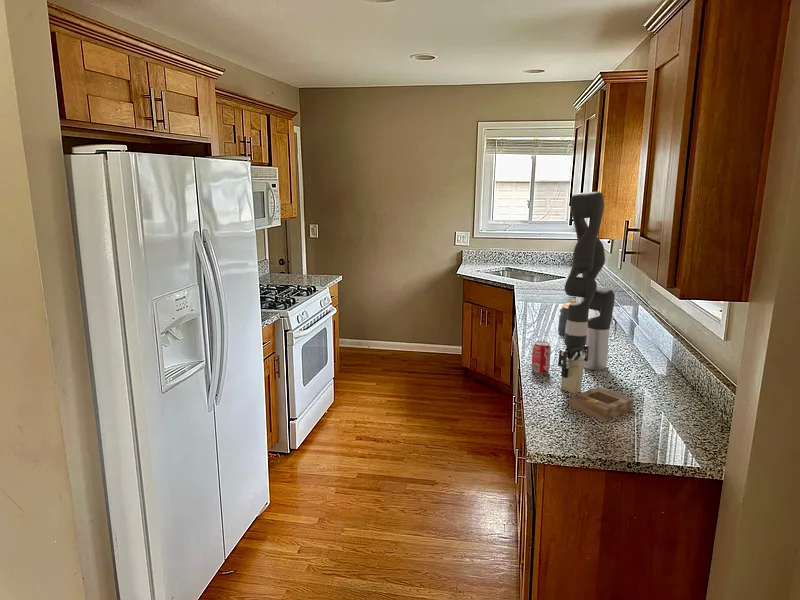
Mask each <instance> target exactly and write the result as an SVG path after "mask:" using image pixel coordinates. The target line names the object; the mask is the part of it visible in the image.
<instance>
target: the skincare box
mask: <svg viewBox="0 0 800 600" xmlns="http://www.w3.org/2000/svg"><path fill="white" fill-rule="evenodd" d="M567 359H568V357H567ZM568 360H570V359H568ZM584 362H585V360H582V359H576V360H574V361H573V362H572V363H571V364H570V365H569V367H568V368H569V370H568V378H564V377H562V376H561V383H560V390H562V391H564V390H565V391H564V392H567V391H568V392H567V393H570V392H571V394H573V393H574V394H573V395H577V394H579V393H581V392H582V386H583V385H582V384H583V376H584V369H585V368H584ZM567 363H568V362H566V364H567ZM580 391H581V392H580ZM578 392H579V393H578ZM576 393H577V394H576Z"/></svg>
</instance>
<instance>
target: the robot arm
mask: <svg viewBox="0 0 800 600" xmlns="http://www.w3.org/2000/svg"><path fill="white" fill-rule="evenodd" d="M604 209H605V200H604V195H603V193H602V192H600V191H589V192H579V193H575V194H572V196H571V197H570V210H571V211H570V212H571V216H572V220H573V221H572V222H573V224H574V227H575V228H574V229H575V233H576V239H577V242H576V244H575V246H574V249H573V257H572V265H571V269H570V272H569V274H568V276H567V279H566V281H565V284H564V292H565V294H566V295H567V296H569V297H577V298H583V300H582V301H579V302H577V301H576V303H571V302H570V303H571V304H570V305H569V307H568V315H567V322H566V328H565V336H564V341H563V344H564V345H565V346H566V347H565V349H564V350H563V349H560V350H559V353H558V361H557V366H558V367H560V368H561V375H560V376H561V378H562V377H564V378H568V370H569V368H568V367H569V365H570V364H571V363H572V362H573V361H574V360H576V359H582V360H585V362H584V369H587V370H591V371H603V370H606V368H607V365H608V356H609V347H610V345H609V337H610V328H611V322H612V318H613V312H614V306H615V299H616V296H615V292H614V291H613V290H612V289H608V288H602V287H598V284H597V282H596V278H597V276H598V275H599V273H600V272H601V270H602V269H603V267H604V265H605V263H606V254H605V247H604V244H603V242H602V241H601V240H600V239H599V237H598V235H599V232H600V228H601V223H602V219H603V215H604ZM586 219H590V223H589V225H588V224H587V221H586ZM580 274H581V275H582V277H581V276H579V275H580ZM590 310H592V311H598V312H600V314H599V315H597V316H593V317H589V312H590ZM567 357H568V359H570V360H568V359H567ZM566 362H568V363H567V364H566Z"/></svg>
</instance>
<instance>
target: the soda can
mask: <svg viewBox="0 0 800 600" xmlns="http://www.w3.org/2000/svg"><path fill="white" fill-rule="evenodd" d="M550 344H551V343H550V342H547V341H544V340H537V341H535V342H534V344H533V346H532V353H531V370H532V372H533V373H535V374H539V375H545V374H547V373H548V372H550V364H551V356H552V355H551V351H552V348H551V345H550Z"/></svg>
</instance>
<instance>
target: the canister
mask: <svg viewBox="0 0 800 600" xmlns="http://www.w3.org/2000/svg"><path fill="white" fill-rule="evenodd" d="M571 303H577V299H572V300H571V301H570V302H566V303H564V304H562V305H561V307H562V308H560V309H559V313H560V314H559V316H558V326H557V333H558V332H559V333H560V334H559V333H558V334H559V335H561V334H563V335H562V336H564V335H565V328H566V322H567V315H568V307H569V305H570V304H571Z"/></svg>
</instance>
